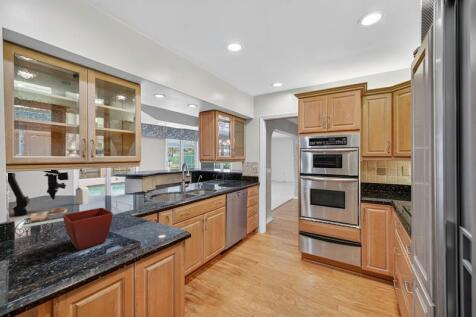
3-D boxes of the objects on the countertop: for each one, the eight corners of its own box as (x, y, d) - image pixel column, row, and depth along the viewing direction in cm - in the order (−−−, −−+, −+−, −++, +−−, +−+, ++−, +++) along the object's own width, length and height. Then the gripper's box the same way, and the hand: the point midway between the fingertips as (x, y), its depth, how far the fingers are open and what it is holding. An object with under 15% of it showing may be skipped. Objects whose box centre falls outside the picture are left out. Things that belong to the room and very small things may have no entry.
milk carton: (89, 203, 198) (88, 184, 197) (82, 205, 191) (82, 185, 190) (82, 203, 199) (81, 184, 198) (76, 205, 192) (75, 185, 191)
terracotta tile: (30, 222, 146) (30, 220, 146) (32, 219, 153) (32, 216, 153) (45, 220, 151) (45, 217, 151) (46, 216, 158) (46, 214, 158)
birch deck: (29, 220, 152) (29, 218, 152) (31, 215, 163) (31, 213, 163) (67, 213, 167) (67, 212, 167) (66, 210, 177) (66, 208, 177)
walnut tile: (50, 214, 162) (50, 211, 162) (51, 211, 169) (51, 208, 169) (64, 212, 167) (63, 209, 167) (63, 209, 175) (63, 207, 174)
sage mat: (21, 228, 137) (21, 227, 137) (25, 219, 153) (25, 219, 153) (71, 219, 154) (71, 218, 154) (70, 212, 170) (70, 212, 170)
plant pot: (102, 233, 128) (102, 206, 127) (114, 241, 116) (113, 212, 115) (63, 244, 113) (62, 214, 112) (72, 255, 101) (70, 222, 100)
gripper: (64, 181, 167) (65, 199, 168) (65, 178, 182) (66, 196, 183) (46, 182, 160) (47, 202, 161) (48, 180, 175) (49, 197, 176)
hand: (53, 199), depth 170 cm, fingers closed
